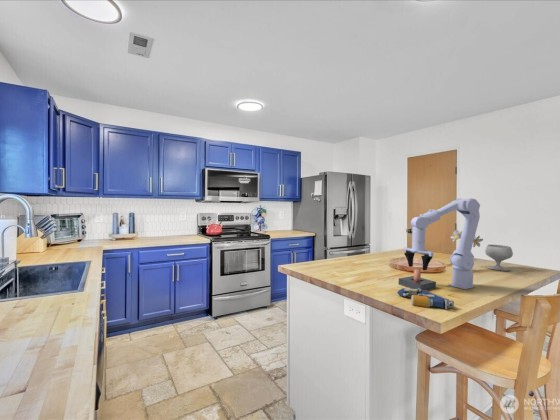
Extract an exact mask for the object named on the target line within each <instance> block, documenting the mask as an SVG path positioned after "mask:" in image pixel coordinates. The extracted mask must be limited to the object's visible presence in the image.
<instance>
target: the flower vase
mask: <svg viewBox="0 0 560 420" xmlns="http://www.w3.org/2000/svg"><path fill="white" fill-rule="evenodd" d="M462 231H463V230H461V231H460V230H458V229H455V230H454V231H453V233H452V234H450V235H451V236H450V239H452V242H455V241H456V240H459V239H460V238H461V235H462ZM482 241H484V239H483V238H481V237H480V235H477V236H475V237H474V241H473V245H472V248H475V247H476V246H477V247H478V248H480V247H481V242H482Z"/></svg>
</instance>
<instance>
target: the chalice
mask: <svg viewBox="0 0 560 420" xmlns="http://www.w3.org/2000/svg"><path fill="white" fill-rule="evenodd" d="M484 251H485V254H486V256H487V257H489V258H491V259H492V260H494V261H495V263H496V264H495V265H487V266H486V268H488V269H489V268H490V269H489V270H493V271H494V270H495V271H500V270H501V272H508V271H509V270H510V271H511V269H510V268H508V267H504V266H501V262H503V261H505V260H508V259H510V258H512V257H513V255H514V253H513V252H514V251H513V249H512V247H511V246H508V245H503V244H487V245H486V248H485V250H484Z"/></svg>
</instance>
